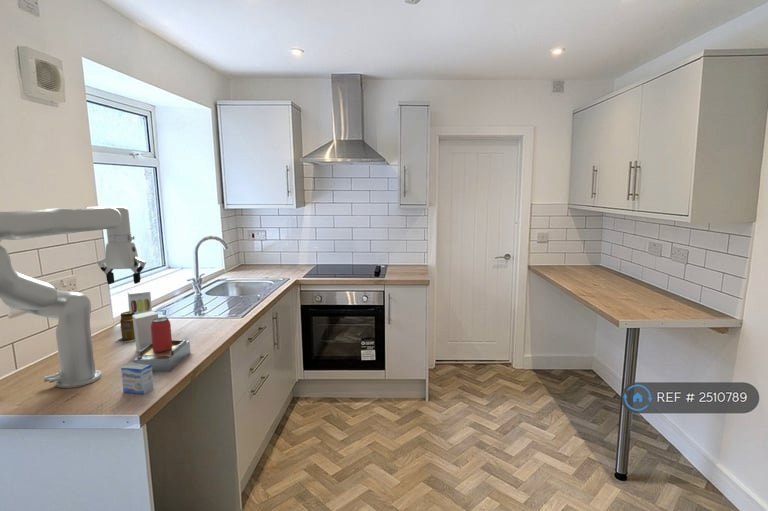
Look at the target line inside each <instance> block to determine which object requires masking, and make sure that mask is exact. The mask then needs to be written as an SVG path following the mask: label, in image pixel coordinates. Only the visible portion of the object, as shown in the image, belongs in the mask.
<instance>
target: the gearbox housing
mask: <svg viewBox="0 0 768 511" xmlns="http://www.w3.org/2000/svg"><path fill="white" fill-rule="evenodd" d="M190 344H191V343H190V340H187V339H172V348H171V349H170V350H167V351H164V352H155V351H154V350H153V346H152V343H150V344H149V345H147V346H146V347H145V348H143V349H142V350H140V351H139V352H138V356H137V357H136V358H134V359H133V363H135V364H148V365H152V373H166V372H167V373H170V372H172V371H173V370H174V369H175V368H176V367H177V366H178V365H179V364H180V363H182V361H184V360H185V359H186V358H187V356H189V355H190V354H191V345H190Z"/></svg>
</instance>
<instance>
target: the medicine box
mask: <svg viewBox="0 0 768 511" xmlns="http://www.w3.org/2000/svg"><path fill="white" fill-rule="evenodd" d="M120 371H121V379H122V381H121V382H122V391H123V394H124V393H125V394H138V395H145V394H147V393H148V392H150V391H152V390H153V389H154V377H153V372H152V365H148V364H135V363H134V362H133V363H132V362H130V363H128V364H126V365H124V366H122V367H121V368H120Z"/></svg>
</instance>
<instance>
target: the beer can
mask: <svg viewBox="0 0 768 511" xmlns="http://www.w3.org/2000/svg"><path fill="white" fill-rule="evenodd" d="M171 326H172V325H171V321H170V320H169V317H167V316H165V317H164V316H161V317H158V318H155V319H153V320H152V323H151V335H152V346H153V350H154V351H155V352H164V351H167V350H170V349H171V348H172V340H173V339H172V328H171Z"/></svg>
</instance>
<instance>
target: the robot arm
mask: <svg viewBox="0 0 768 511" xmlns="http://www.w3.org/2000/svg"><path fill="white" fill-rule="evenodd" d="M102 230H106V236H107V243H106V244H105V255H104V256H105V258H103V259H102V260H101V261H98V262H97V265H98V267H99V268H100V270H101V271H102V272H103V273H104V274H105V277H106V283H107V285H111V284H114V283H115V274H114V272H113V270H131V271H132V272H133V274H132V277H133V284H134V285H136V284H139V283H140V282H141V272H142V271H143V270H144V269H145V266H146V263H147V261H146V260H144V259H141V258H140V257H139V256H138V250H137V247H136V244H135V242H134V241H133V240H135V236H134V235H132V233H131V223H130V213H129V209H128V208H127V207H125V206H87V207H85V208H45V209H32V210H19V211H18V210H17V211H0V243H1V242H2V241H3V240H6V241H7V240H8V241H16V240H19V241H20V240H26V239H35V238H40V237H41V238H42V237H49V236H57V235H68V234H69V235H70V234H74V233H75V234H76V233H83V232H84V233H85V232H93V231H102ZM11 262H12V261H11V255H10V254H9V252H8V250H7V249H6V248H5V247H4V246H2V245H1V244H0V299H1V300H2V302H3V304H5V305H6V306H8V307H10V308H12V309H14V310H17V311H21V312H25V313H29V314H33V315H37V316H39V317H43V318H49V319H56V320H58V323H57V324H56V327H55V328H56V330H55V340H56V345H57V355H58V361H59V368H60V369H58V372H55V373H54V374H49V375H45V376H43V382H44V383H47V382H49V383H50V384H51V383H55V385H56V386H57V387H58V388H61V389H73V388H77V387H81V386H86V385H89V384H91V383H93V382H96V381H98V380H99V379H100V378H101V377H102V371H101V370H99V369H96V365H95V355H94V348H93V347H94V346H93V340H92V339H93V338H92V329H91V313H92V304H91V300H90V298H89V297H88V296H87V295H86V294H83V293H82V292H78V291H70V290H69V291H68V290H57V289H56V287H55V286H54V285H52V284H50V283H49V282H46V281H43V280H40V279H37V278H34V277H31V276H28V275H25V274H22V273H20V272H18V271H16V270H15V268H13V266H12V263H11ZM139 264H140V265H139Z"/></svg>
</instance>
